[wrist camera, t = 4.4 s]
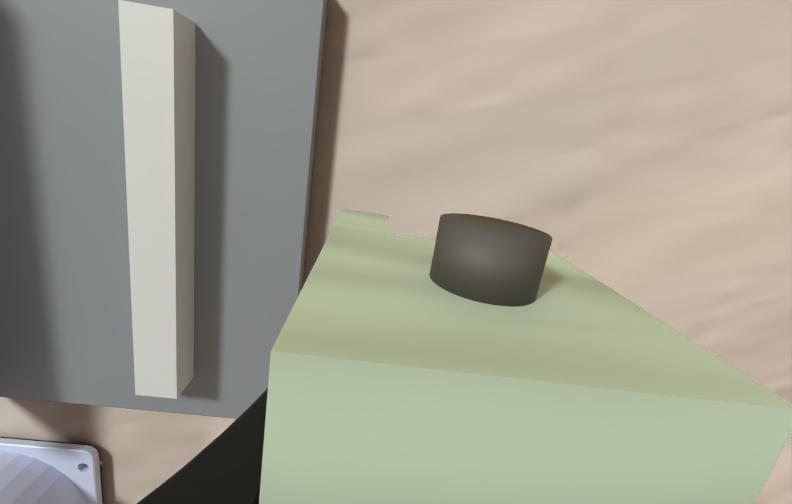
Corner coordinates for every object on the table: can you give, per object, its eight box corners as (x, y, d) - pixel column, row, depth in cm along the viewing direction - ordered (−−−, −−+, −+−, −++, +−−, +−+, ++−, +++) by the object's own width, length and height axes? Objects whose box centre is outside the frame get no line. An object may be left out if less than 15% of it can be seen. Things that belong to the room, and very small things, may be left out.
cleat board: (291, 409, 19) (261, 500, 14) (-17, 378, 18) (-162, 468, 13) (328, -11, 14) (302, -87, 9) (-97, -89, 13) (-376, -222, 8)
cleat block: (467, 475, 13) (571, 860, 6) (311, 461, 12) (231, 859, 5) (537, 203, 10) (845, 325, 3) (346, 174, 10) (278, 249, 3)
